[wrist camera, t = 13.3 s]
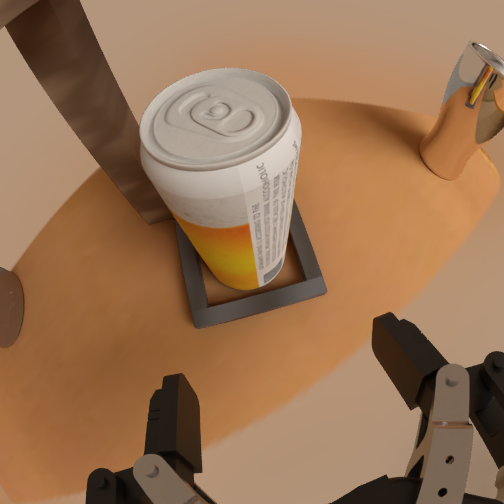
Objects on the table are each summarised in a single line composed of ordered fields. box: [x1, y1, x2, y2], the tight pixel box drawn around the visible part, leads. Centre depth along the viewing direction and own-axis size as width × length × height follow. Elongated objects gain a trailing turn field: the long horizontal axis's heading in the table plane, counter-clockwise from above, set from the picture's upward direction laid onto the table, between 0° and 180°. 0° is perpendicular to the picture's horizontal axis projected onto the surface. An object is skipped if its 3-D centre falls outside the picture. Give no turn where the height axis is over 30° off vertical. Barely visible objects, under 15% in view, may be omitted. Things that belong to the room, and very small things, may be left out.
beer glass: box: [419, 41, 504, 180], centre depth 18 cm, size 7×7×15 cm
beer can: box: [139, 68, 302, 290], centre depth 15 cm, size 6×6×15 cm
